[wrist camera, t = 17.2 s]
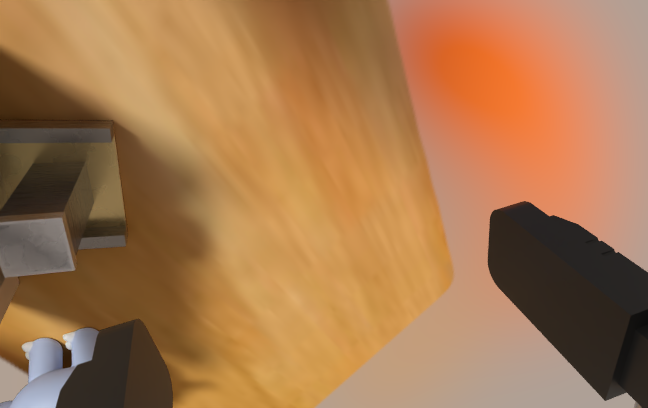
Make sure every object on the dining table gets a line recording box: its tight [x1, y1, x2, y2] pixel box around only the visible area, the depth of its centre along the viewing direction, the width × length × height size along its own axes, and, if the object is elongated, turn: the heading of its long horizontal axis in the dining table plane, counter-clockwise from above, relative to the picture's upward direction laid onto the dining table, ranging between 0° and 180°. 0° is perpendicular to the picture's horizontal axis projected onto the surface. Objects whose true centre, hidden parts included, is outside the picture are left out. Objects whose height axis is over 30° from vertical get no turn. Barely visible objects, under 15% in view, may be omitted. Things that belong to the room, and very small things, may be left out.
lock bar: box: [0, 161, 94, 278], centre depth 34 cm, size 4×4×10 cm
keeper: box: [0, 120, 128, 249], centre depth 37 cm, size 11×10×3 cm
